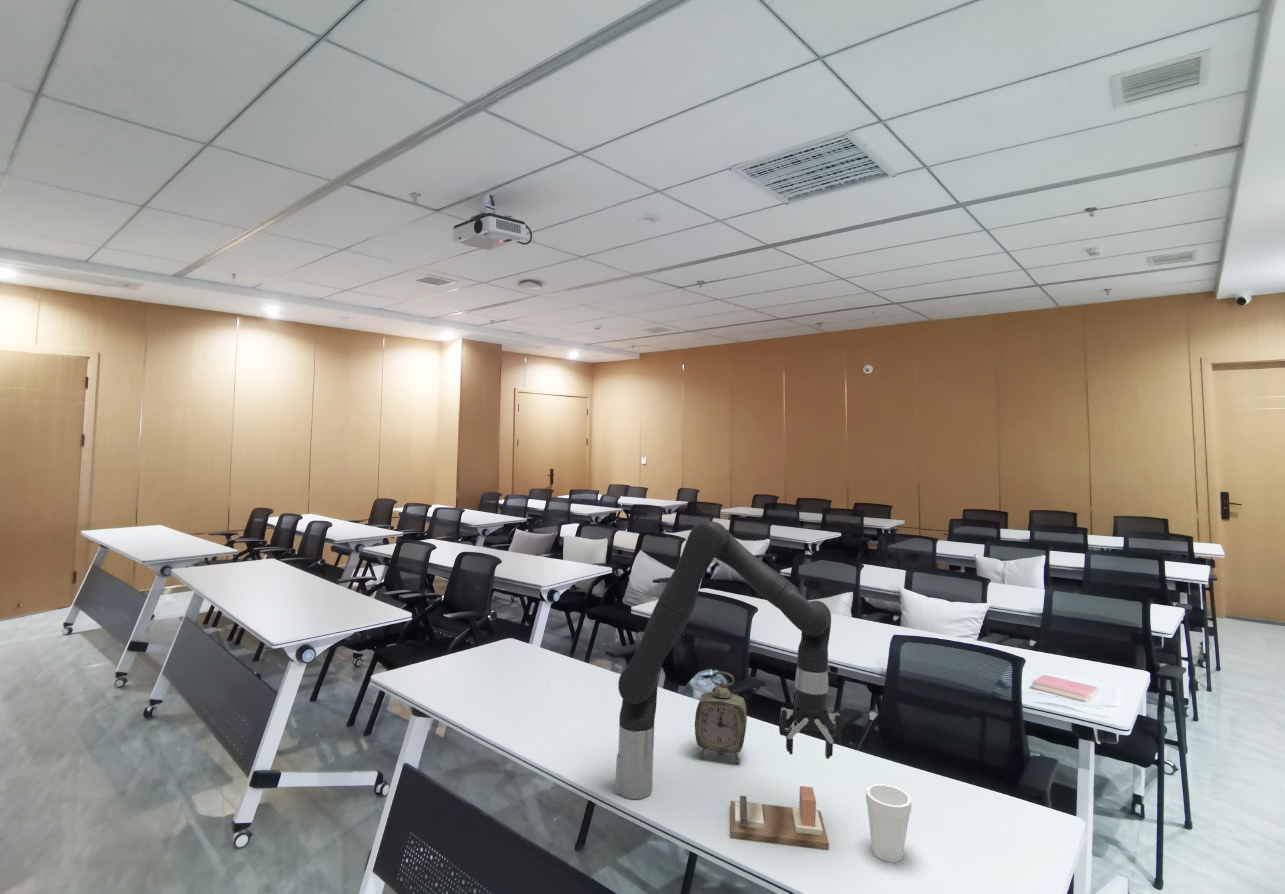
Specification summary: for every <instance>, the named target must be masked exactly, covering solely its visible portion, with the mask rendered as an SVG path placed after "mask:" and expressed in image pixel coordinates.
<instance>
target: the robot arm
mask: <svg viewBox="0 0 1285 894" xmlns="http://www.w3.org/2000/svg"><path fill="white" fill-rule="evenodd" d="M681 553H682V554H681V555H680V558H679V561H678V562H677V565H676V567H675V569H674V571H673V572H672V574H671V575H670V577H669V579H668V581H667V583H666V585H665V586H664V589H663V590H662V592H661V594H660V596H659V598H658V600H657V602H656V604H655V606H654V608H653V610H652V612H651V614H650V617H649V620H648V622H647V623H646V627H645V628H644V632H643V634H642V637H641V640H640V643H639V645H638V647H637V649H636V650H635V652H634V654H633V656H632V658H631V659H630V661H629V662H628V664H627V665H626V666H625V668H624V669H623V670H622V672H621V674H620V675H619V678H618V683H617V684H618V693H619V695H620V697H621V698H622V702H621V708H620V712H619V724H618V751H617V756H616V766H615V767H616V768H615V795H620V796H621V797H623V798H626V799H630V800H641V799H645V798H648V797H649V796H650V795H651V794H652V792H653V775H654V774H653V773H654V741H655V739H654V738H655V718H656V714H657V713H656V712H657V702H658V701H657V699H658V675H659V672H660V669H661V667H662V665H663V663H664V661H665V660H666V658H667V656H669V655H668V654H669V653H670V651H672V649H673V647H674V646H675V644H676V643H677V641H679V640H678V639H679V638H680V636H681V635H682V633H683V631H684V629H685V628H686V626H687V624H688V622H689V620H690V618H691V616H692V614H693V612H694V609H695V606H696V604H697V600H698V595H699V590H700V586H701V583H702V579H703V578H704V576H705V574H706V572H707V571H708V569H709V566H711V564H712V562H713V560H714V559H716V560H718V561H720V562H722V563H724V564H725V565H727V566H729V568H731V569H732V570H734V571H735V572H736V573H737V574H738V575H739V576H740V577H741V578H742V579H743V580H744V581H745V582H746V583H747V584H748V585H749V586H750V587H751V588H752V589H753V590H754V591H755V592H756V593H757V594H758V595H759V596H761V597H762V598H763V599H765V600H766V601H767V602H768V603H770V604H771V605H773V607H775V608H777V609H779V610H780V612H781V613H782V614H783V615H784V616H785V618H787V619H788V620H789V622H791V623H792V624H793V626H795V628H797V629H798V630H799V631H800V632H801V634H800V635H801V639H800V642H799V644H798V648H797V658H796V659H797V660H796V661H797V664H796V665H797V666H796V672H795V679H794V685H795V688H794V689H795V690H794V705H793V706H794V707H793V708H792V709H789V708H786V707H785V706H781V707H780V713H779V714H780V715H779V716H780V717H779V724H778V725H779V726H778V730H779V735H780V736H784V737H785V738H786V741H785V748H786V752H788V753H789V755H793V753H794V737H795V735H796V734H798V733H799V732H800V731H801V730H802V731H804V732H809V731H811V732H814V733H818V731H820V732H821V734H822V735H823V736H824V737H825V748H824V750H825V751H824V752H825V753H824V755H825V759H828V760H830V759H831V757H833V751H834V750H833V749H834V748H833V747H834V743H836V742H839V743H840V742H842V718H841V714H840V713H839V712H838V711H835V712H834V713H828V702H829V701H828V700H829V699H828V697H829V694H828V693H829V675H828V671H829V670H828V668H829V667H828V665H829V643H830V641H829V640H830V636H831V627H832V626H831V625H832V613H831V610H830V609H829V607H828V606H827V604H825V603H824V602H822V601H820V600H811V601H809V600H808V599H807V598H806V597H805V596H803V595H802V594H800V592H799V589H798V587H797V586H796V585H795V584H794V583H792V582H791V581H790V580H789V579H787V578H786V577H784V576H783V575H782V574H780V573H779V572H778V571H776V570H775V569H773V568H772V567H770V566H769V565H768V564H767V563H765V562H764V561H762V560H760V559H759V558H758V557H757V556H755V555H754V554H753V553H752V552H751V551H749V549H747V548H746V547H745V546H743V544H741V543H740V542H739V540H737V539H736V538H735V536H733V535H732V533H731V532H729V530H728V529H726V527H725V526H724V525H723V524H721V523H720V522H717V521H702V522H699V523H697V524H695V525H694V526H693V528H692V529H690V531H689V534H688V536H687V539H686V542H685V544H684V547H683V550H682V552H681ZM791 716H792V717H793V719H794V721H793V722H792V723H791V725H790V726H789V728H788V729H787V728H786V726H787V720H789V719H790V717H791ZM829 720H831V723H832V724H833V726H834V728H833V729H834V733H833V734H831V732H830V731H829V729H828V727H827V726H826V724H827V722H828V721H829Z"/></svg>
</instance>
